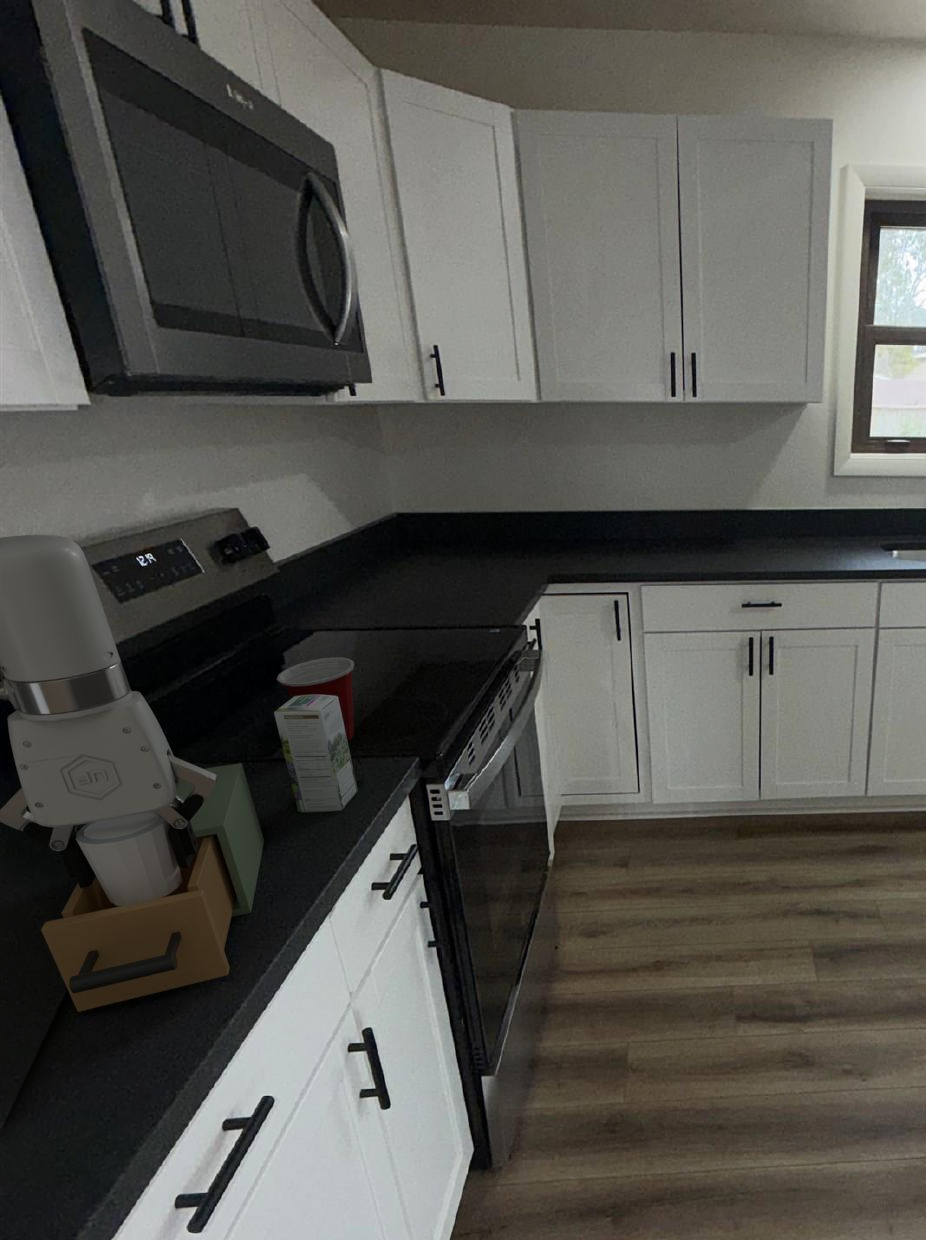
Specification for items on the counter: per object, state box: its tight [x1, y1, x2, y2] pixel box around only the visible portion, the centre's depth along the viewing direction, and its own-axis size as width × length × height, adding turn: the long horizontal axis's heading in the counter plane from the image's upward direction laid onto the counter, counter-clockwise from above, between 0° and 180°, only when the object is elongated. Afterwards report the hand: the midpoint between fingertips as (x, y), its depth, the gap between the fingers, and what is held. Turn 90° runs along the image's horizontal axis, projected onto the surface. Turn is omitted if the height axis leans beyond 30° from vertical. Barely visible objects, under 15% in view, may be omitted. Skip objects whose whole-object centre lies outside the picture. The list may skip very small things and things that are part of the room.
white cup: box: [76, 811, 182, 906], centre depth 73 cm, size 7×7×7 cm
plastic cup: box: [276, 656, 355, 741], centre depth 125 cm, size 11×11×12 cm
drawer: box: [40, 834, 236, 1013], centre depth 74 cm, size 20×11×9 cm, turn 25°
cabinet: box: [176, 762, 265, 918], centre depth 87 cm, size 17×13×11 cm
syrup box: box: [273, 695, 359, 814], centre depth 104 cm, size 6×6×14 cm
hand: (139, 869), depth 74 cm, fingers closed on white cup, 6 cm apart
